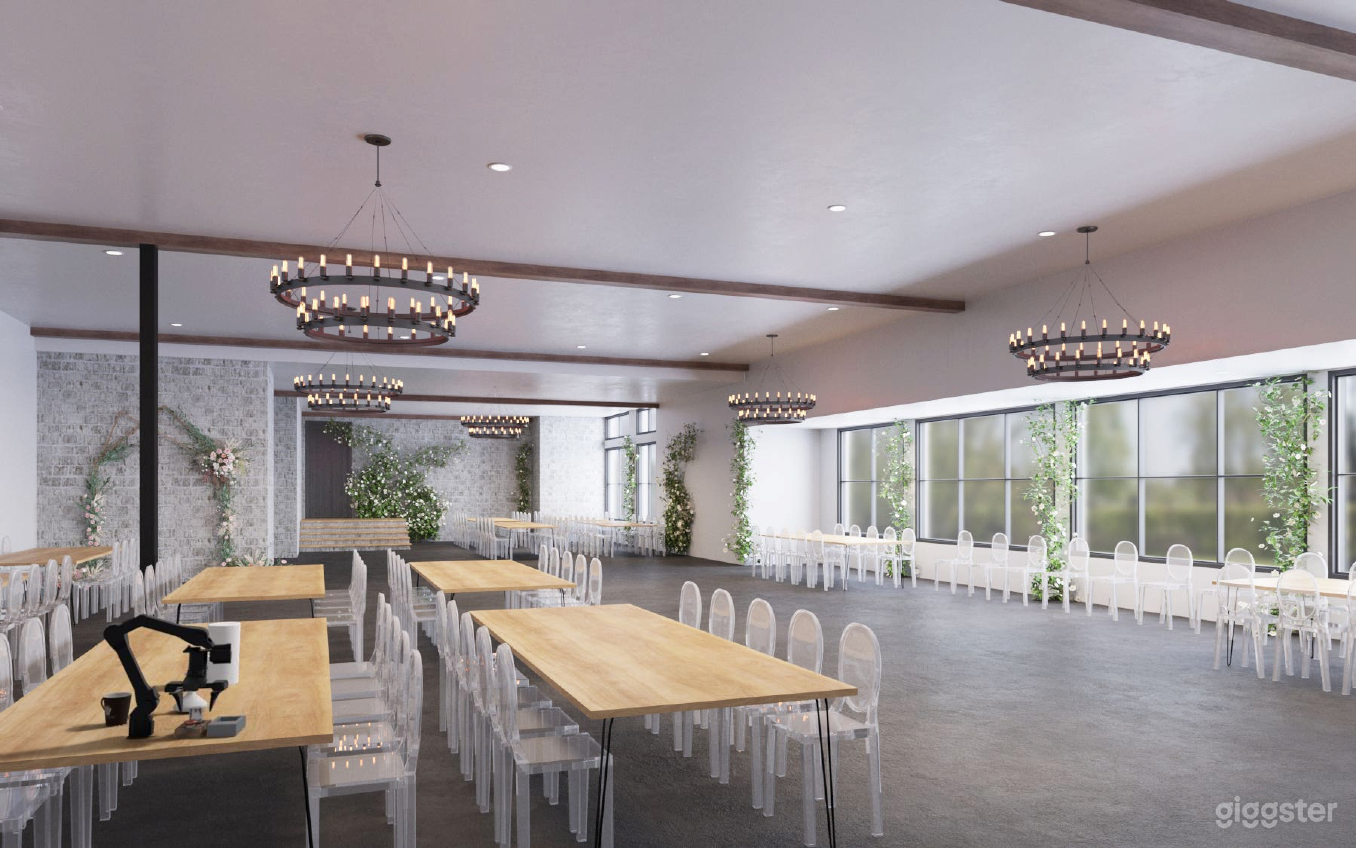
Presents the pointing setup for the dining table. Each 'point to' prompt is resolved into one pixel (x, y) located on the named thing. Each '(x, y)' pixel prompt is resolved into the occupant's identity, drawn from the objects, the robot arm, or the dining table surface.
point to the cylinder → (231, 634)
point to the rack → (226, 726)
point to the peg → (196, 714)
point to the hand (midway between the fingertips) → (195, 712)
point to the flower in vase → (191, 699)
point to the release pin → (190, 723)
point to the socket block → (191, 730)
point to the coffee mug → (116, 708)
